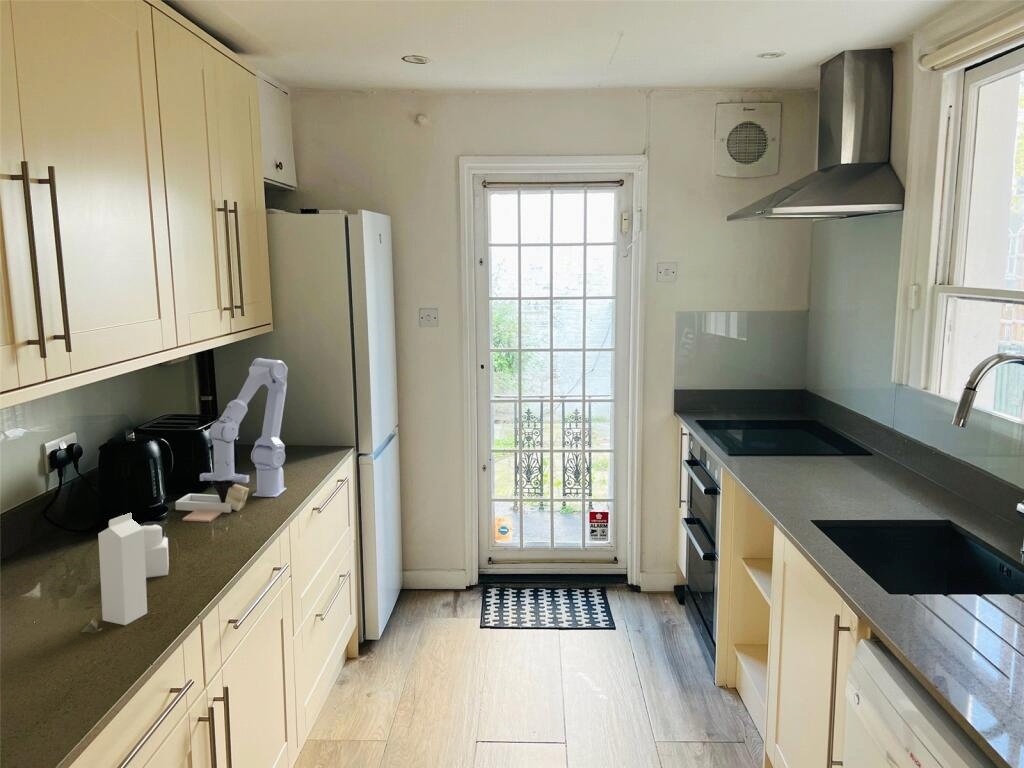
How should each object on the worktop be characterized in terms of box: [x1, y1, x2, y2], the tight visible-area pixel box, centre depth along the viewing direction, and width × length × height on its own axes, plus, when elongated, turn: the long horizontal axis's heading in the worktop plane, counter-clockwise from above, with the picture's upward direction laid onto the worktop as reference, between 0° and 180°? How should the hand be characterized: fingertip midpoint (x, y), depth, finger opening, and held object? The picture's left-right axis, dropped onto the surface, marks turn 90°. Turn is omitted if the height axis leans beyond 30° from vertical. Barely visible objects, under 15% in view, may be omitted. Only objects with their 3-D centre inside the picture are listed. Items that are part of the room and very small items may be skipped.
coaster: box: [182, 510, 223, 523], centre depth 220 cm, size 8×8×1 cm
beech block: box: [225, 483, 250, 512], centre depth 228 cm, size 4×4×6 cm
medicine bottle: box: [139, 520, 170, 579], centre depth 179 cm, size 7×7×12 cm
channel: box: [175, 493, 232, 513], centre depth 229 cm, size 8×17×2 cm, turn 86°
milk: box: [97, 512, 148, 626], centre depth 155 cm, size 6×6×22 cm
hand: (225, 504), depth 229 cm, fingers closed
